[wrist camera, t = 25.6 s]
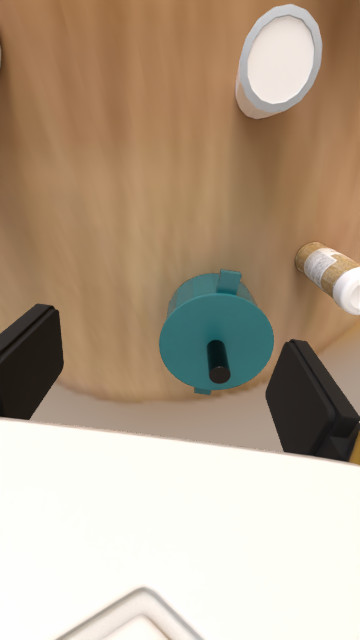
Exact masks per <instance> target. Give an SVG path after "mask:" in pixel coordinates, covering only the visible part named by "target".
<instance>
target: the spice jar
mask: <svg viewBox="0 0 360 640" xmlns="http://www.w3.org/2000/svg"><path fill="white" fill-rule="evenodd" d="M295 263H296V266H297V268H298V270H299V271H301V272H302V273H304V274H306V276H307V277H308V278H309V279H310V280H311V281H313V282H314V283H315V284H316V285H317V286H318V287H319V288H321V289H322V290H323V291H324V292H325V293H327V294H329V295H330V296H331V297H332V298H333V299H334V301H335V302H336V304H337V305H338V306H340V307H341V308H342V309H343V310H345V311H346V312H348V313H350V314H353V315H360V264H358V263H357V262H355V261H353V260H352V259H350V258H348V257H346V256H344V255H343V254H341V253H339V252H337V251H335V250H333V249H330V248H328V247H326V246H325V245H324V244H322V243H319V242H312V243H309V244H307V245H305V246H303V247H302V248H301V249H300V251H299V252H298V253H297V255H296V259H295Z"/></svg>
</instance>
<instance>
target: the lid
mask: <svg viewBox="0 0 360 640" xmlns="http://www.w3.org/2000/svg"><path fill="white" fill-rule="evenodd" d="M273 345H274V335H273V330H272V327H271V324H270V322H269V321H268V319H267V317H266V315H265V314H264V313H263V312H262V310H260V309H259V308H258V307H257V306H256V305H255V304H253V303H252V302H250V301H248V300H246V299H244V298H242V297H239V296H236V295H232V294H225V293H211V294H205V295H201V296H197V297H195V298H192V299H190V300H188V301H186V302H184V303H183V304H181V305H180V306H178V307H177V308H176V309H175V310H174V311H173V312H172V313H171V314H170V315H169V317H168V318H167V319H166V321H165V323H164V325H163V327H162V330H161V334H160V339H159V348H160V354H161V358H162V360H163V362H164V364H165V366H166V367H167V369H168V370H169V371H170V372H171V373H172V374H173V375H174V376H175V377H176V378H178V379H179V380H180V381H182V382H184V383H186V384H188V385H190V386H193V387H196V388H200V389H206V390H222V389H229V388H233V387H236V386H239V385H241V384H243V383H246V382H247V381H249V380H251V379H252V378H254V377H255V376H256V375H257V374H258V373H259V372H261V370H262V369H263V368H264V367H265V366H266V364H267V362H268V361H269V359H270V357H271V354H272V351H273Z"/></svg>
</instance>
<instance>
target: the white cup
mask: <svg viewBox="0 0 360 640" xmlns="http://www.w3.org/2000/svg"><path fill="white" fill-rule="evenodd" d="M321 54H322V40H321V36H320V32H319V27H318V24H317V23H316V21H315V20H314V19H313V18H312V16H311V15H310V14H309V12H308V11H307V10H305V9H303V8H300V7H298V6H295V5H293V4H288V5H283V6H278V7H274V8H272V9H271V10H270V11H268V12H267V13H266V14H264V15H263V16H262V17H261V18H259V19H258V20H257V22H256V23H255V25H254V26H253V28H252V29H251V31H250V32H249V34H248V36H247V37H246V39H245V43H244V47H243V50H242V54H241V57H240V62H239V67H238V73H237V79H236V84H235V90H236V100H237V103H238V105H239V108H240V110H241V111H242V112H243V113H244V114H245V115H246V116H248V117H251V118H254V119H261V118H266V117H269V116H272V115H275V114H278V113H280V112H283V111H286V110H287V109H289V108H290V107H292V106H294V105H295V104H297V103H298V102H300V101H301V100H302V98H303V97H304V96H305V95H306V93H307V92H308V91H309V89H310V88H311V87H312V86H313V83H314V81H315V78H316V76H317V73H318V71H319V68H320V65H321Z"/></svg>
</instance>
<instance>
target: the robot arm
mask: <svg viewBox="0 0 360 640" xmlns="http://www.w3.org/2000/svg"><path fill="white" fill-rule="evenodd" d="M0 66H1V47H0ZM63 365H64V361H63V350H62V339H61V328H60V317H59V311H58V310H55V308H54V306H52V305H44V304H36V305H35V306H34V307H32V308H31V309H30V310H29V311H27V312H26V313H25V314H24V315H23V316H21V317H20V318H19V319H18V320H16V321H15V322H14V323H13V324H12V325H10V326H9V327H8V328H7V329H5V330H4V331H3V332H2V333H1V334H0V640H360V423H359V421H360V416H359V415H358V414H357V412H356V411H355V409H354V408H353V406H352V405H351V404H350V402H349V401H348V399H347V398H346V396H345V395H344V394H343V392H342V391H341V389H340V388H339V387H338V385H337V384H336V382H335V381H334V380H333V378H332V377H331V375H330V374H329V372H328V371H327V369H326V368H325V367H324V365H323V364H322V362H321V361H320V360H319V358H318V357H317V355H316V354H315V352H314V351H313V350H312V348H311V347H310V345H309V344H308V343H307V342H306V341H301V340H294V339H291V340H290V341H289V342H286V343H285V344H284V346H283V349H282V351H281V354H280V356H279V359H278V361H277V364H276V366H275V369H274V371H273V374H272V376H271V379H270V381H269V384H268V387H267V389H266V400H267V403H268V406H269V409H270V412H271V415H272V418H273V421H274V424H275V427H276V430H277V433H278V436H279V439H280V442H281V445H282V448H283V451H284V452H279V451H271V450H264V449H256V448H248V447H241V446H232V445H225V444H218V443H211V442H202V441H195V440H187V439H178V438H171V437H162V436H155V435H146V434H139V433H131V432H123V431H115V430H107V429H99V428H90V427H82V426H74V425H65V424H57V423H48V422H40V421H30V420H29V419H30V418H31V416H32V415H33V413H34V412H35V410H36V409H37V407H38V406H39V404H40V403H41V401H42V400H43V398H44V397H45V395H46V394H47V392H48V391H49V389H50V388H51V386H52V385H53V383H54V382H55V381H56V379H57V378H58V376H59V375H60V373H61V371H62V369H63Z"/></svg>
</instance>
